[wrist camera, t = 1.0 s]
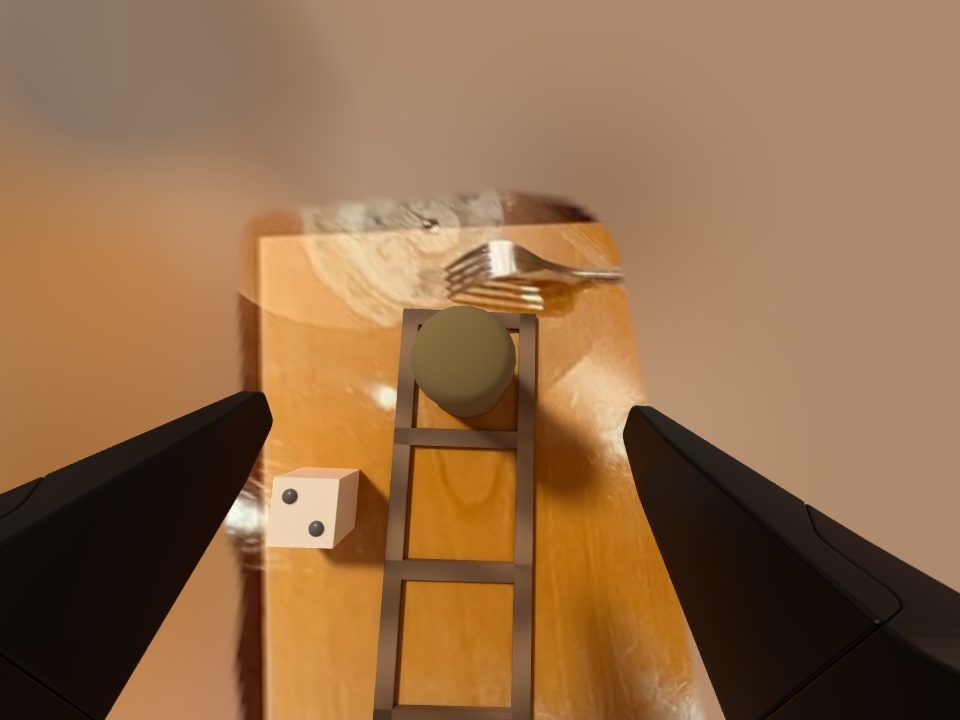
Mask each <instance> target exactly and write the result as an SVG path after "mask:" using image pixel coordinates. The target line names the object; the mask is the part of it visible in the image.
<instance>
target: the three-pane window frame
mask: <svg viewBox="0 0 960 720" xmlns="http://www.w3.org/2000/svg"><path fill="white" fill-rule="evenodd" d="M439 311H442V310H427V309H403V323H402V336H401V350H400V363H399V376H398V390H397V403H396V417H395V430H394V443H393V457H392V470H391V484H390V497H389V510H388V524H387V537H386V551H385V564H384V577H383V591H382V604H381V618H380V631H379V644H378V658H377V671H376V685H375V698H374V711H373V720H530V691H531V617H532V544H533V470H534V396H535V322H536V314H522V313H498V312H488V313H490V314H492V315H493V316H495V317H496V318H498V319H499V321H500V322H501V323H502V324H503V325H504V326H505V328H506V329H513V330H519V361H518V409H517V432H511V431H484V430H458V429H431V428H412V422H413V407H414V392H415V377H414V374H413V372H412V369H411V349H412V346H413V343H414V340H415V336H416V334H417V333H418V331H419V326H423V324H424V323H425V321H427V320H428V319H429V318H431V317H432V316H433V315H435V314H436V313H437V312H439ZM411 445H429V446H455V447H482V448H509V449H517V456H516V504H515V551H514V562H502V561H472V560H441V559H411V558H403V556H404V541H405V526H406V511H407V497H408V482H409V467H410V452H411ZM402 580H433V581H464V582H495V583H514V599H513V647H512V694H511V708H500V707H464V706H428V705H394V691H395V676H396V661H397V646H398V631H399V616H400V601H401V586H402Z"/></svg>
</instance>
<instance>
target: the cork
mask: <svg viewBox="0 0 960 720" xmlns="http://www.w3.org/2000/svg"><path fill="white" fill-rule="evenodd" d="M515 365H516V355H515V346H514V343H513V341H512V338H511V336H510V333H509V331H508V330H507V329H506V328H505V326H504V325H503V324H502V323H501V322H500V321H499V319H498V318H496V317H495V316H493V315H492V314H490V313H488V312H487V311H485V310H483V309H479V308H476V307H472V306H453V307H450V308H447V309H444V310H442V311H439V312H437V313H436V314H435V315H433V316H432V317H431V318H429V319H428V320H427V321H425V323H424V324H423V326H422V327H421V328H420V330H419V331H418V333H417V334H416V336H415V340H414V343H413V346H412V349H411V369H412V372H413V374H414V377H415V380H416V383H417V385H418V386H419V387H420V388H421V390H422V391H423V392H424V393H425V395H426V396H427V397H428V398H430V399H431V400H433V401H434V402H436V403H437V404H438V406H439V407H440V408H442V409H443V410H445V411H446V412H448V413H449V414H451V415H455V416H458V417H462V418H464V417H476V416H479V415H481V414H484V413H487V412H488V411H489V410H490V409H492V408H493V407H494V406H495V405H496V404H497V403H498V401H499V400H500V398H501V397H502V395H503V393H504V390H505V389H506V387H507V386H508V384H509V383H510V381H511V380H512V377H513V373H514V369H515Z"/></svg>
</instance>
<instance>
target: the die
mask: <svg viewBox="0 0 960 720" xmlns="http://www.w3.org/2000/svg"><path fill="white" fill-rule="evenodd" d="M359 473H360V469H341V468H314V467H304V468H300V469H297V470H294V471H291V472H288V473H285V474H281V475H278V476H275V477H274V482H273V490H272V498H271V506H270V514H269V522H268V530H267V538H266V546H271V547H301V548H330V549H333V548H334V547H335V546H336V545H337V544H338V543H339V542H340V541H341V540H342V539H343V538H344V537H345V536H346V535H347V534H348V533H349V532H351V531H352V530H353V529H354V528H355V518H356V507H357V495H358V484H359Z"/></svg>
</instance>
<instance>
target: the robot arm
mask: <svg viewBox="0 0 960 720" xmlns="http://www.w3.org/2000/svg"><path fill="white" fill-rule="evenodd" d="M272 423H273V418H272V414H271V411H270V408H269V405H268V402H267V399H266V396H265V394H264V393H263V392H261V391H253V390H244V391H241V392H238V393H236V394H234V395H231V396H229V397H227V398H224V399H222V400H220V401H218V402H215V403H213V404H210V405H208V406H206V407H203V408H201V409H199V410H196V411H194V412H192V413H189V414H187V415H185V416H183V417H180V418H178V419H175V420H173V421H171V422H168V423H166V424H164V425H161V426H159V427H157V428H154V429H152V430H150V431H147V432H145V433H143V434H140V435H138V436H136V437H133V438H131V439H129V440H126V441H124V442H122V443H119V444H117V445H115V446H112V447H110V448H108V449H105V450H103V451H101V452H98V453H96V454H94V455H92V456H89V457H87V458H84V459H82V460H80V461H78V462H75V463H73V464H70V465H68V466H66V467H63V468H61V469H59V470H57V471H54V472H52V473H49V474H48V475H46V476H45V477H40V478H37V479H35V480H33V481H30V482H28V483H26V484H23V485H21V486H19V487H16V488H14V489H12V490H10V491H7V492H5V493H2V494H0V720H105V719H106V717H107V715H108V714H109V712H110V710H111V709H112V707H113V705H114V703H115V702H116V700H117V699H118V697H119V695H120V694H121V692H122V690H123V689H124V687H125V685H126V684H127V682H128V680H129V678H130V677H131V675H132V673H133V672H134V670H135V668H136V667H137V665H138V663H139V662H140V660H141V658H142V657H143V655H144V653H145V652H146V650H147V648H148V646H149V645H150V643H151V641H152V640H153V638H154V636H155V635H156V633H157V631H158V630H159V628H160V626H161V625H162V623H163V621H164V620H165V618H166V616H167V615H168V613H169V611H170V610H171V608H172V606H173V604H174V603H175V601H176V599H177V598H178V596H179V594H180V593H181V591H182V589H183V588H184V586H185V584H186V582H187V581H188V579H189V578H190V576H191V574H192V572H193V571H194V569H195V567H196V566H197V564H198V562H199V561H200V559H201V557H202V556H203V554H204V552H205V551H206V549H207V547H208V546H209V544H210V542H211V541H212V539H213V537H214V536H215V534H216V532H217V530H218V529H219V527H220V525H221V524H222V522H223V520H224V519H225V517H226V515H227V514H228V512H229V510H230V509H231V507H232V505H233V504H234V502H235V500H236V499H237V497H238V495H239V493H240V492H241V490H242V488H243V486H244V485H245V483H246V481H247V479H248V477H249V475H250V473H251V471H252V469H253V466H254V464H255V462H256V460H257V458H258V456H259V453H260V451H261V449H262V447H263V445H264V443H265V440H266V438H267V436H268V434H269V432H270V430H271V427H272ZM623 441H624V445H625V448H626V452H627V456H628V460H629V463H630V467H631V471H632V474H633V478H634V482H635V486H636V489H637V493H638V496H639V499H640V501H641V504H642V507H643V509H644V512H645V515H646V517H647V520H648V522H649V525H650V527H651V530H652V532H653V535H654V538H655V540H656V543H657V545H658V548H659V550H660V553H661V556H662V558H663V561H664V563H665V566H666V568H667V571H668V573H669V576H670V579H671V581H672V584H673V586H674V589H675V591H676V594H677V596H678V599H679V602H680V604H681V607H682V609H683V612H684V614H685V617H686V619H687V622H688V625H689V627H690V630H691V632H692V635H693V637H694V640H695V642H696V645H697V647H698V650H699V653H700V655H701V658H702V660H703V663H704V665H705V668H706V671H707V673H708V676H709V678H710V681H711V683H712V686H713V688H714V691H715V694H716V696H717V699H718V701H719V704H720V706H721V709H722V712H723V714H724V717H725V719H726V720H960V593H959V592H957V591H955V590H954V589H952V588H950V587H948V586H947V585H945V584H943V583H941V582H939V581H938V580H936V579H934V578H932V577H930V576H929V575H927V574H925V573H923V572H922V571H920V570H918V569H916V568H915V567H913V566H911V565H909V564H908V563H906V562H904V561H902V560H900V559H899V558H897V557H895V556H894V555H892V554H890V553H888V552H887V551H885V550H883V549H882V548H880V547H878V546H876V545H874V544H873V543H871V542H869V541H868V540H866V539H864V538H862V537H861V536H859V535H858V534H856V533H854V532H853V531H851V530H849V529H848V528H846V527H844V526H843V525H841V524H839V523H838V522H836V521H835V520H833V519H831V518H830V517H828V516H826V515H825V514H823V513H822V512H820V511H818V510H817V509H815V508H814V507H812V506H810V505H808V504H806V505H805V503H804V501H802V500H801V499H799V498H797V497H796V496H794V495H793V494H791V493H789V492H788V491H786V490H784V489H783V488H781V487H780V486H778V485H776V484H775V483H773V482H772V481H770V480H768V479H767V478H765V477H764V476H762V475H760V474H759V473H757V472H756V471H754V470H752V469H751V468H749V467H747V466H746V465H744V464H743V463H741V462H739V461H738V460H736V459H735V458H733V457H731V456H730V455H728V454H726V453H725V452H723V451H722V450H720V449H719V448H717V447H715V446H714V445H712V444H710V443H709V442H707V441H706V440H704V439H702V438H701V437H699V436H698V435H696V434H694V433H693V432H691V431H690V430H688V429H686V428H685V427H683V426H682V425H680V424H678V423H677V422H675V421H674V420H672V419H670V418H669V417H667V416H665V415H664V414H662V413H661V412H659V411H657V410H656V409H654V408H653V407H651V406H639V405H635V406H633V407H632V408H631V409H630V412H629V415H628V418H627V421H626V424H625V427H624V431H623Z"/></svg>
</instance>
